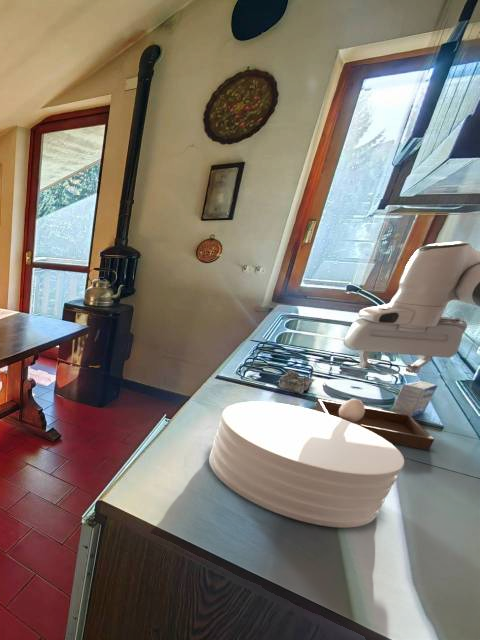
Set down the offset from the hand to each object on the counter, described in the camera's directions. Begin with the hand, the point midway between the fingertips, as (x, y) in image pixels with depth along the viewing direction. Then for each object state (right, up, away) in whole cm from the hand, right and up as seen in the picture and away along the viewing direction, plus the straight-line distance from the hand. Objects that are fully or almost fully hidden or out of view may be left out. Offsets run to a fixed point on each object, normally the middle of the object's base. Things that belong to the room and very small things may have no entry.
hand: (387, 369), depth 97 cm
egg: (-2, -14, +8) cm, 16 cm away
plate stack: (-38, -24, -15) cm, 47 cm away
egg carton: (+3, -5, +31) cm, 31 cm away
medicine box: (+21, -12, +14) cm, 28 cm away
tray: (+1, -15, +6) cm, 16 cm away
